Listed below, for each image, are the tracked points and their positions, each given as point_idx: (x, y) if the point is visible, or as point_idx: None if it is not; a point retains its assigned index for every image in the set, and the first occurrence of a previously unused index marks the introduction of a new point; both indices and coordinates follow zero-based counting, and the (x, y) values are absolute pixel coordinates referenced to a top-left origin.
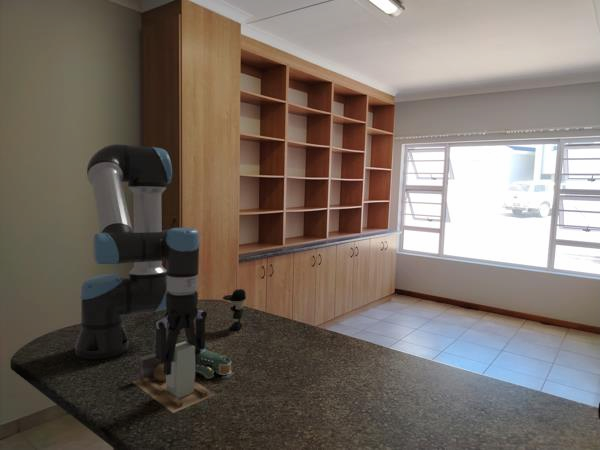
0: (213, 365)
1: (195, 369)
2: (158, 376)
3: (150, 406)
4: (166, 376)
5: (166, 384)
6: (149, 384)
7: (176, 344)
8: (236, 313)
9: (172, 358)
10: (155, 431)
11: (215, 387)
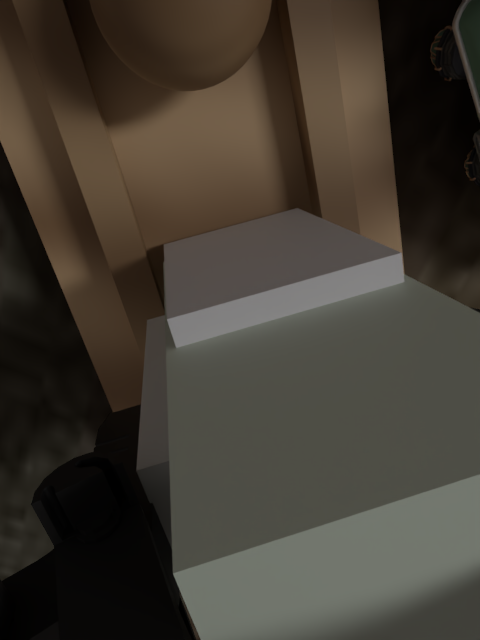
0: None
1: (478, 75)
2: (127, 65)
3: (42, 307)
4: (147, 351)
5: (164, 255)
6: (45, 83)
7: (414, 522)
8: None
9: (193, 634)
10: (39, 533)
11: (469, 267)
